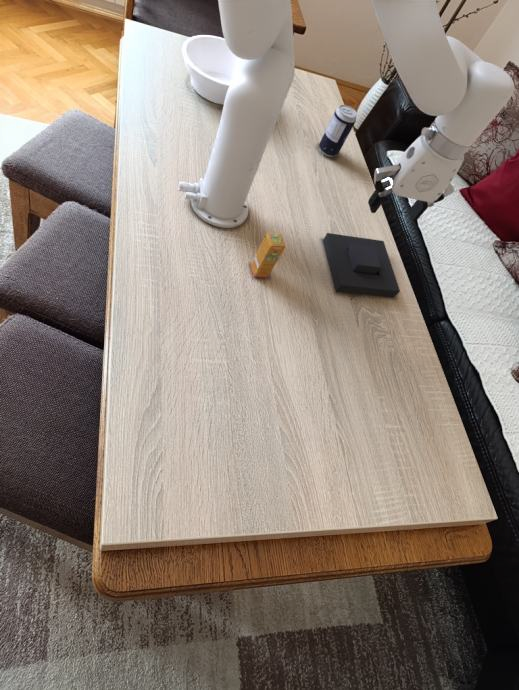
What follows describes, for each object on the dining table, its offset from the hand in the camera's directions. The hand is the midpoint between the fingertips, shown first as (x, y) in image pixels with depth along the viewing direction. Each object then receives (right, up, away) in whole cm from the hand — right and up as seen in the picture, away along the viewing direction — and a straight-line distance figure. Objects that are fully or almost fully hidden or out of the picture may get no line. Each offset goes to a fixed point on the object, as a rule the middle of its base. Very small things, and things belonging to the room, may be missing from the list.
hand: (392, 211), depth 99 cm
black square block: (-4, -9, +13) cm, 17 cm away
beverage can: (-8, +25, +34) cm, 43 cm away
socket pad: (-4, -9, +13) cm, 17 cm away
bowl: (-38, +40, +32) cm, 64 cm away
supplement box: (-26, -11, +4) cm, 29 cm away
